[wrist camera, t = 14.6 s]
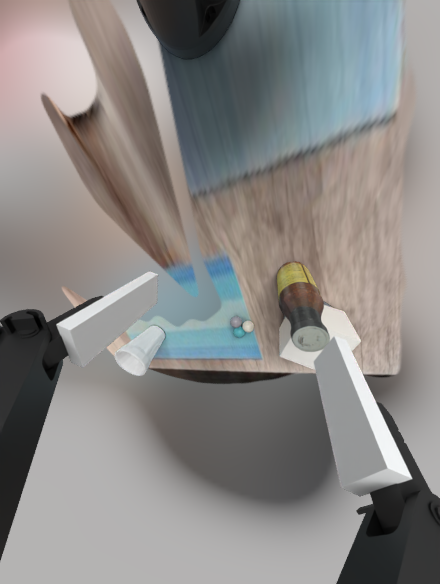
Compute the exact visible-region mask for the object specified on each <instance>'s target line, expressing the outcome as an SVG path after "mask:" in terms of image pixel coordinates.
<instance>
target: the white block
mask: <svg viewBox="0 0 440 584" xmlns="http://www.w3.org/2000/svg"><path fill="white" fill-rule="evenodd" d="M321 321H322V323H323V325H325V327H326V328H327V330H328V333H329V336H330V340H331V339H332V338H333V337H334V336H336V337H339V338H342V339H345V340H346V341H347V343H348V345H349V347H350V349H351V351H352V350H353V349H354V348H355V347H356V346H357V345H358V344H359V343H360V342H361V340H360V338H359V336H358V335H357V333H356V331H355V329H354V328H353V326H352V324H351V323H350V321H349V319H348V317H347V316H346V314H345V312H344V311H341V310H338V309H335V308H332V307H329V306H326V305H324V309H323V312H322V316H321ZM290 331H291V324H290V321H289V320H288V319H287V318H286V317H285V319H284V321H283V323H282V324H281V326H280V328H279V356H280V357H282V358H285V359H287V360H290V361H293V362H295V363H298V364H301V365H303V366H306V367H308V368H311V369H314V370H315V366H314V361H315V359H316V358H317V357H318V355H319V354H320V353H321V352H322V350H323V349H322V350H320V351H316V352H305V351H302V350H300V349H298V348H297V347H296V346H295V345H294V344H293V342H292V339H291V335H290ZM329 342H330V341H329Z"/></svg>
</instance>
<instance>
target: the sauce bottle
mask: <svg viewBox="0 0 440 584" xmlns="http://www.w3.org/2000/svg"><path fill="white" fill-rule="evenodd" d="M277 286H278V298H279V306H280V309H281V311H282V313H283V314H284V315H285V316H286V318H287V319H288V320H289V321H290V324H291V331H290V335H291V339H292V342H293V344H294V345H295V346H296V347H297V348H298V349H300V350H302V351H305V352H316V351H320V350H322V349H324V348H325V347H326V345H327V344H328V343H329V341H330V336H329V333H328V330H327V328H326V327H325V325H323V323H322V321H321V316H322V312H323V309H324V302H323V300H322V297H321V296H320V292H319V290H318V288H317V286H316V284H315V282H314V280H313V278H312V276H311V274H310V272H309V270H308V269H307V268H306V267H305V266H304V265H303V264H301V263H300V262H294V261H293V262H288V263H285V264H284V265H283V266H282V267H281V268H280V269H279V271H278V275H277Z"/></svg>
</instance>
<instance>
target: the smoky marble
mask: <svg viewBox="0 0 440 584" xmlns="http://www.w3.org/2000/svg"><path fill="white" fill-rule="evenodd" d="M230 324H231V326H232V327H234V328H238V327H240V326H241V324H242V320H241V318H240V317H238V316H234V317H232V318H231V320H230Z"/></svg>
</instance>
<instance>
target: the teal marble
mask: <svg viewBox="0 0 440 584" xmlns="http://www.w3.org/2000/svg"><path fill="white" fill-rule="evenodd" d="M244 334H245V331H244V330H243V328H242V327H241V326H240V327H238V328H235V329H234V335H235V336H236V337H238V338H241V337H243V336H244Z"/></svg>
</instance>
